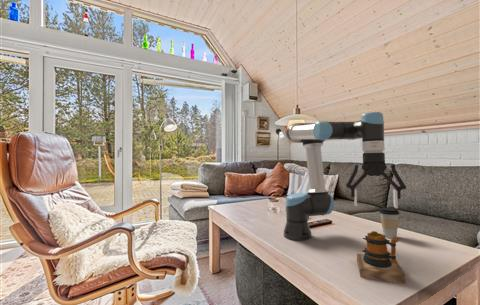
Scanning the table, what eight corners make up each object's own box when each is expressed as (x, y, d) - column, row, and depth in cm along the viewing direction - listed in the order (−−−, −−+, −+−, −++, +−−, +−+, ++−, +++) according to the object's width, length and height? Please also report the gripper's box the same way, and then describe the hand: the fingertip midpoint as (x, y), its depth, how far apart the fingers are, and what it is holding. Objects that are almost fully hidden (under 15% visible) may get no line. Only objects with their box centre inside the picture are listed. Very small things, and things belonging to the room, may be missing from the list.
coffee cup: (404, 240, 119) (402, 211, 119) (383, 239, 121) (382, 210, 121) (395, 234, 128) (394, 207, 128) (376, 233, 130) (375, 206, 130)
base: (360, 276, 85) (360, 268, 85) (356, 260, 98) (356, 253, 98) (405, 283, 80) (405, 274, 80) (395, 265, 93) (395, 257, 93)
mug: (356, 259, 92) (355, 230, 92) (372, 254, 97) (371, 226, 97) (390, 274, 81) (389, 240, 81) (406, 266, 85) (405, 235, 86)
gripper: (338, 153, 92) (340, 206, 92) (415, 151, 82) (417, 210, 82) (338, 153, 99) (340, 202, 99) (408, 151, 89) (410, 206, 89)
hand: (375, 206), depth 90 cm, fingers open, 13 cm apart
